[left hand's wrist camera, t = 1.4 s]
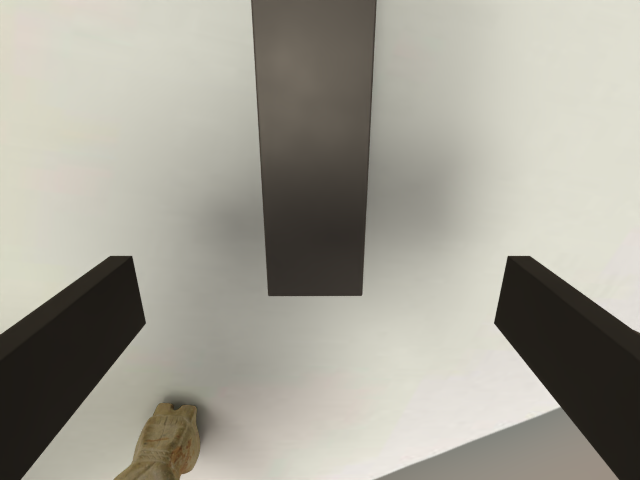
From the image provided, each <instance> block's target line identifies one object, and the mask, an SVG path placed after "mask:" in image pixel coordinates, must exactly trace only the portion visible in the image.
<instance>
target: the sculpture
mask: <svg viewBox="0 0 640 480" xmlns="http://www.w3.org/2000/svg"><path fill="white" fill-rule="evenodd" d="M196 414H197V408H196V407H195V406H192V405H182V406H181V407H180V408H179V409H178V410H174V405H173V404H170V403H160V404H159V405H158V406H157V408H156V410H155V412H154V414H153V417H151V418H150V419H149V420H148V421H147V423H146V424H145V426H144V428H143V430H142V432H141V434H140V437H139V439H138V442H137V445H136V448H135V453H134V457H133V461H132V463H131V465H130V466H129V467H128V468H127V469H125V470H124V471H123V472H121V473H120V474H119V475H118V476H117V477H116V478H115V479H114V480H179V479H180V476H181V474H185V473H188V472H190V471H191V470H192V469H193V467H194V466H195V464H196V461H197V459H198V456H199V452H200V438H199V433H198V429H197V426H196Z"/></svg>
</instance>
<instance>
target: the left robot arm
mask: <svg viewBox="0 0 640 480" xmlns="http://www.w3.org/2000/svg"><path fill="white" fill-rule="evenodd" d="M145 324H146V321H145V316H144V311H143V307H142V302H141V297H140V292H139V287H138V282H137V277H136V272H135V268H134V263H133V258H132V256H110V257H108V258H107V259H105V260H104V261H103V262H101V263H100V264H98V265H97V266H96V267H94V268H93V269H91V270H90V271H89V272H87V273H86V274H84V275H83V276H82V277H80V278H79V279H77V280H76V281H75V282H73V283H72V284H70V285H69V286H68V287H66V288H65V289H64V290H62V291H61V292H59V293H58V294H57V295H55V296H54V297H52V298H51V299H50V300H48V301H47V302H45V303H44V304H43V305H41V306H40V307H38V308H37V309H36V310H34V311H33V312H31V313H30V314H29V315H27V316H26V317H24V318H23V319H22V320H20V321H19V322H17V323H16V324H15V325H13V326H12V327H10V328H9V329H8V330H6V331H5V332H4V333H2V334H0V480H21V479H22V477H23V476H24V475H25V474H26V472H27V471H28V470H29V469H30V467H31V466H32V465H33V464H34V462H35V461H36V460H37V459H38V457H39V456H40V455H41V454H42V452H43V451H44V450H45V449H46V447H47V446H48V445H49V444H50V442H51V441H52V440H53V439H54V437H55V436H56V435H57V434H58V432H59V431H60V430H61V429H62V427H63V426H64V425H65V424H66V422H67V421H68V420H69V419H70V417H71V416H72V415H73V414H74V412H75V411H76V410H77V409H78V407H79V406H80V405H81V404H82V402H83V401H84V400H85V399H86V397H87V396H88V395H89V394H90V392H91V391H92V390H93V389H94V387H95V386H96V385H97V384H98V382H99V381H100V380H101V379H102V377H103V376H104V375H105V374H106V372H107V371H108V370H109V369H110V367H111V366H112V365H113V364H114V362H115V361H116V360H117V359H118V357H119V356H120V355H121V354H122V352H123V351H124V350H125V349H126V347H127V346H128V345H129V344H130V342H131V341H132V340H133V339H134V337H135V336H136V335H137V334H138V332H139V331H140V330H141V329H142V327H143V326H144V325H145ZM494 324H495V325H496V326H497V327H498V329H499V330H500V331H501V332H502V334H503V335H504V336H505V337H506V339H507V340H508V341H509V342H510V344H511V345H512V346H513V347H514V349H515V350H516V351H517V352H518V354H519V355H520V356H521V357H522V359H523V360H524V361H525V362H526V364H527V365H528V366H529V367H530V369H531V370H532V371H533V372H534V374H535V375H536V376H537V377H538V379H539V380H540V381H541V382H542V384H543V385H544V386H545V387H546V389H547V390H548V391H549V392H550V394H551V395H552V396H553V397H554V399H555V400H556V401H557V402H558V404H559V405H560V406H561V407H562V409H563V410H564V411H565V412H566V414H567V415H568V416H569V417H570V419H571V420H572V421H573V422H574V424H575V425H576V426H577V427H578V429H579V430H580V431H581V432H582V434H583V435H584V436H585V437H586V439H587V440H588V441H589V442H590V444H591V445H592V446H593V447H594V449H595V450H596V451H597V452H598V454H599V455H600V456H601V457H602V459H603V460H604V461H605V462H606V464H607V465H608V466H609V467H610V469H611V470H612V471H613V472H614V474H615V475H616V476H617V477H618V479H619V480H640V333H639V332H637V331H635V330H632V329H631V328H630V327H628V326H627V325H625V324H624V323H623V322H621V321H620V320H618V319H617V318H616V317H614V316H613V315H611V314H610V313H609V312H607V311H606V310H604V309H603V308H602V307H600V306H599V305H597V304H596V303H595V302H593V301H592V300H590V299H589V298H588V297H586V296H585V295H583V294H582V293H581V292H579V291H578V290H576V289H575V288H574V287H572V286H571V285H570V284H568V283H567V282H565V281H564V280H563V279H561V278H560V277H558V276H557V275H556V274H554V273H553V272H551V271H550V270H549V269H547V268H546V267H544V266H543V265H542V264H540V263H539V262H537V261H536V260H535V259H533V258H532V257H530V256H508V258H507V263H506V268H505V272H504V277H503V282H502V287H501V292H500V297H499V302H498V307H497V311H496V316H495V321H494Z"/></svg>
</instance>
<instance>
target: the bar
mask: <svg viewBox="0 0 640 480" xmlns="http://www.w3.org/2000/svg"><path fill="white" fill-rule="evenodd" d="M376 1H377V0H251V4H252V22H253V39H254V57H255V74H256V91H257V109H258V126H259V143H260V161H261V178H262V196H263V213H264V230H265V248H266V265H267V282H268V295H269V296H362V288H363V268H364V247H365V227H366V206H367V185H368V165H369V144H370V124H371V103H372V83H373V62H374V42H375V21H376Z"/></svg>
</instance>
